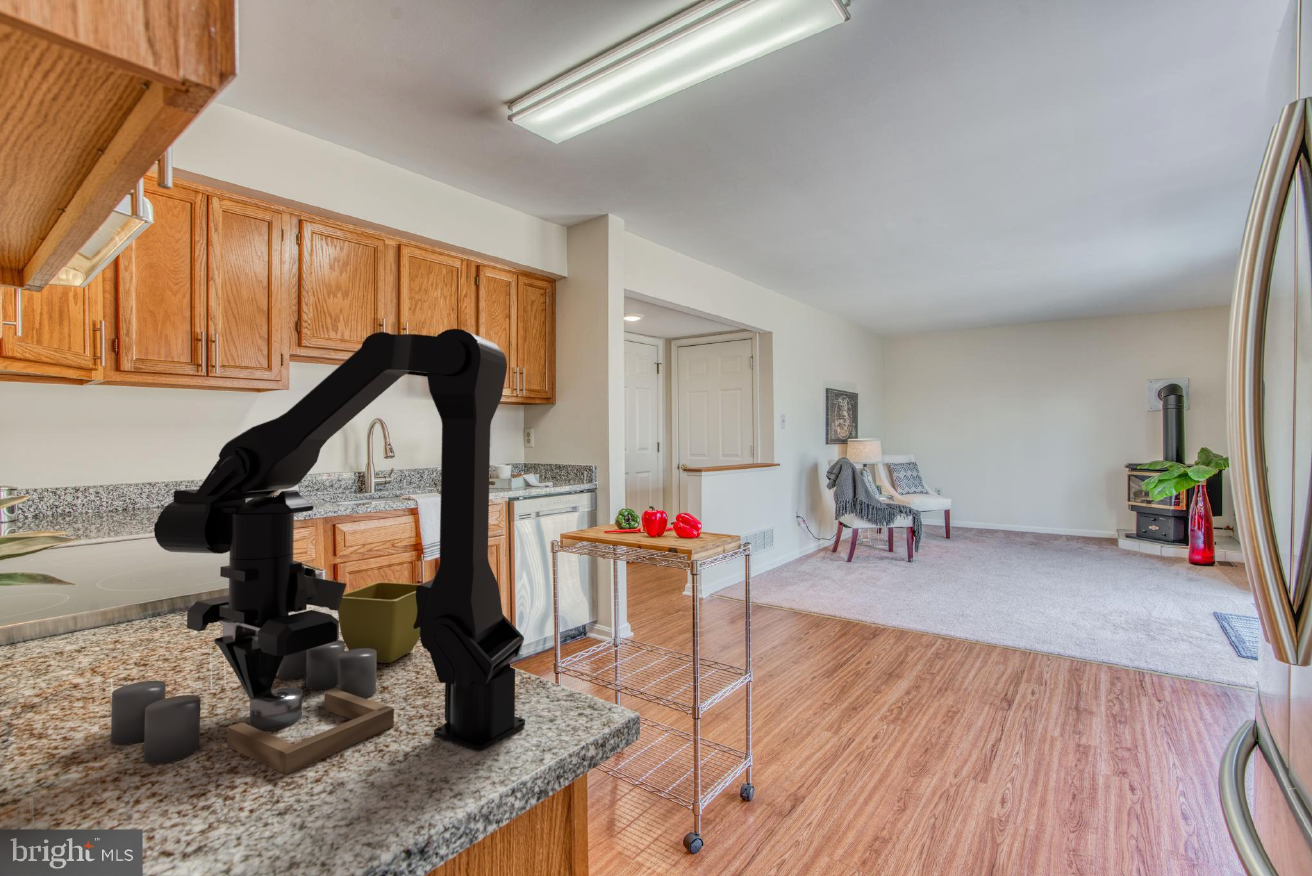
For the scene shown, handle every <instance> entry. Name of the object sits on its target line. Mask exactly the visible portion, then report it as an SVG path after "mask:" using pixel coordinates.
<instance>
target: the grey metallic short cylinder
mask: <svg viewBox="0 0 1312 876" xmlns="http://www.w3.org/2000/svg"><path fill="white" fill-rule="evenodd" d="M302 718H303V689H301V688H298V687H293V686H292V687H278V688H273V689H272V688H271V690H268V691H265V692H262V693H260V694H257V695H255V696H254V697H252V698H251V700H250V699H249V723H248V725H250V726H252V727H254V728H257V729H259V730H261V731H263V732H268V731H269V732H270V731H275V730H279V729H283V728H286V727H290V726H292V725H294V724H296V723H298V722H299V721H301V719H302Z"/></svg>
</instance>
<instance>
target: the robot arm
mask: <svg viewBox="0 0 1312 876" xmlns="http://www.w3.org/2000/svg"><path fill="white" fill-rule="evenodd" d="M507 371H508V362H507V358H506V355H505V353H504V352H503V351H502V349H501V348H500V347H499V346H498V345H497V343H494V342H492V341H491V340H488V339H486V338H484V337H480V336H479V335H477V334H474V333H472V332H470V331H467V330H465V329H461V328H449V329H446V330H444V331H442V332H440V333H438V334H437V335H426V334H416V333H402V334H401V333H400V334H398V333H397V334H392V333H389V332H385V331H379V332H375V333H372V334H370V335H368V336H366V338H365V339H364V340H363V341H362V343H361V347H360V348H358V349H357V350H356V351H355V352H354V353H353V354H351V356H349V357H348V358H347V359H346V360H345V361H343V362H342V363H341V364H340V365H338V367H337V368H335V369H334V370H333V371H332V372H331V373H329V375H327V376H326V377H325V378H324V379H323V380H321V381H320V382H319V383H318V384H317V385H316V386H314V388H312V389H311V390H310V391H309V392H308V393H307V394H305V395H304V396H303V397H302V398H301V399H300V400H299V401H297V403H295V404H294V405H292V407H291V408H289V410H287V411H286V412H284V413H283V414H281V415H280V416H278V417H275V418H274V419H271V420H268V421H265V422H263V423H260V424H257V425H254V426H252V427H250V428H249V429H247V430H245V431H243V432H242V433H240V434H238V435H237V436H235V437H234V438H233V437H232V439H230V440H228V441H227V442H226V443H225V444H224V445H223V446H222V447H221V449H220V452H219V453H218V458H219V459H218V460H217V461H216V463H215V464H214V466H213V467H212V469H211V470H210V471H209V473H208V475H207V476H206V477H205V479H204V480H203V482H202V483H201V485H200V486H199V487H198V489H197V488H196V489H194V488H190V489H176V490H174V491H173V501H171V502H170V503H169V504H166V506H165V507H164V508H163V509H162V510H161V512H160V513H159V515H158V517H157V520H156V521H155V522H154V523H153V525H154V526H153V532H154V533H153V534H154V537H155V540H156V542H157V544H158V545H159V546H160V547H161V548H162V549H164V550H165V551H168V552H170V553H189V554H191V553H192V554H195V553H196V554H215V555H216V554H218V555H219V554H220V555H223V554H226V553H228V552H229V558H228V559H229V560H228V561H229V562H228V564H229V565H225V566H220V571H219V572H220V576H219V577H221V578H225V579H228V595H223V596H222V595H221V596H217V597H212V598H206V599H201V600H196V602H194V604H192V605H191V607H189V609H187V611H186V616H187V617H186V629H189V630H192V631H196V632H203V631H205V630H206V628H208V625H209V624H214V623H215V624H216V623H219V624H221V625H222V636H219V637H217V638H214V639H213V643H214V644H215V645H216V646H218V648H219V650H220V651H221V652H222V655H223V656H224V658H225V659H226V661H227V662H228V664H229V666H230V667H231V668H232V671H233V672H234V675H236V677H237V678H238V681H239V683H240V684H241V686H242V688H243V689H244V692H245V694H246V695H247V696H248V698H249V701H250V700H251V698H252V697H254V696H255V695H257V694H260V693H262V692H265V691H268V690H272V688H273V685H274V682H275V681H276V677H277V673H278V669H279V667H280V664H281V662H282V660H283V658H284V656H287V655H290V654H294V653H297V652H301V651H304V650H308V649H311V648H315V647H318V646H322V645H325V644H329V643H332V642H336V641H337V640H340V624H339V619H337V618H336V617H335V616H334V615H332V614H330V613H326V612H322V611H318V610H313V609H310V610H309V609H308V610H307V608H308V607H307V605H308V606H314V607H319V608H328V610H329V611H335V612H336V611H337V612H338V609H339V606H340V603H341V600H342V597H343V594H345V590H346V588H347V583H345V582H340V581H335V580H329V579H324V578H319V577H317V572H316V569H315V568H311V567H306V566H305V565H304V564H303V562H301V561H294V536H295V534H294V530H295V525H294V522H295V514H299V513H300V514H301V513H306V512H312V511H313V510H314V505H313V504H312V503H311V502H310V501H309V500H307V499H306V498H304V497H303V496H302V495H301V494H300V493H299V491H298V490H297V489H292V488H294V487H296V486H297V485H299V484H300V483H301V482H302V480H303V479H305V477H306V476H307V475H308V474H309V472H310V471H311V469H312V468H313V467H314V466H315V465H316V463H317V462H318V460H319V457H320V452H321V449H322V447H324V445H325V444H326V443H327V442H328V440H330V439H331V438H332V437H333V436H335V434H336V433H338V432H339V431H340V430H341V429H342V428H344V426H346V425H347V424H348V423H350V421H352V420H353V419H354V418H356V416H358V414H360V413H361V412H362V411H363V410H365V409H366V408H367V407H368V406H369V405H370V404H371V403H372V402H374V400H376V399H377V398H379V396H381V395H382V394H383V393H385V391H386V390H388V389H389V388H390V387H392V386H393V385H394V384H395V383H396V382H397V381H398V380H399V379H400V378H401V377H403V376H404V377H405V375H409V376H410V375H411V376H418V377H424V378H427V384H428V390H429V394H430V396H431V399H432V401H433V404H434V406H435V408H436V410H437V412H438V416H439V417H440V421H441V453H440V454H441V458H440V460H441V461H440V462H441V464H440V466H441V467H440V470H441V471H440V507H439V508H440V512H439V513H440V515H439V516H440V517H439V520H440V521H439V558H438V559H439V560H438V561H439V562H438V567H437V570H436V572H435V574H434V577H433V578H432V579H430V580H428V581H425V582H423V583H420V585H418V586H417V587H416V603H417V617H416V621H415V623H414V626H413V628H414V629H417V628H419V627H420V638H419V639H420V643H421V646H422V648H423V649H425V650H426V651H427V653H429V655H430V657H431V661H432V663H433V667H434V670H435V673H436V674H435V675H436V676H437V679H438V682H439V683H442V684H445V685H444V686H445V687H444V689H445V691H444V722H446V723H443V724H442V725H440V726H438V727H436V728H434V729H433V735H434V736H435V737H438V738H440V739H443V740H447V741H449V742H451V743H455V744H458V745H460V746H464V747H466V748H469V749H472V750H475V751H482V750H485V749H487V748H488V747H490V746H492V745H493V744H495V743H497V742H498V741H500V740H503V739H504V738H505V737H508V736H510V734H512V733H515V732H516V731H518V730H520V729H521V728H523V727H525V725H526V719H525V718H523V717H518V716H515V715H516V712H515V711H516V668H515V667H511V663H510V662H511V661H512V660H513V659H514V658H517V657H518V656H519V655H520V652H521V650H522V646H523V644H524V641H525V637H524V635H522V633H521V632H520V631H519V630H518V629H517V628H516V627H515V625H514V624H513V623H512V622H511V621H510V620H509V619H508V618H507V617H506V616H505V615H504V613H503V608H502V607H503V606H502V599H501V594H500V592H501V591H500V586H499V584H498V581H497V578H496V577H495V574H494V572H493V569H492V567H491V564H490V561H489V518H490V514H489V513H490V512H489V511H490V510H489V509H490V468H491V467H490V460H491V455H490V454H491V427H492V426H491V425H492V422H493V418H494V417H495V413H496V412H497V409H498V408H499V405H500V402H501V401H502V397H503V392H504V389H505V388H504V387H505V382H506V376H507ZM291 489H292V490H291ZM279 490H280V492H279ZM281 490H282V491H281ZM277 492H279V493H278V495H277V496H273V495H274V494H275V493H277ZM247 499H248V500H247ZM246 500H247V501H246ZM290 613H292V614H290Z"/></svg>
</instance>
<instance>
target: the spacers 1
mask: <svg viewBox="0 0 1312 876" xmlns="http://www.w3.org/2000/svg"><path fill="white" fill-rule="evenodd" d="M166 687H167V686H166V682H165V681H162V680H144V681H138V682H134V683H130V684H127V685H123V686H121V687H118V688H116V689H114V690H113V691H112V692H111V715H110V717H111V719H110V721H111V722H110V726H111V727H110V743H111V744H113V745H116V746H117V745H118V746H121V745H122V746H123V745H124V746H125V745H133V744H137V743H141V742H143V743H144V745H143V761H144V763H145V764H148V765H164V764H169V763H174V762H178V761H180V760H181V761H182V759H183V760H184V759H185V758H188V757H191V756H192V755H194V754H195V753H197V752H198V751H199V749H200V742H201V741H200V740H201V705H202V704H201V697H200V696H199V695H196V694H181V695H175V696H171V697H170V696H169V697H167V698H166V691H167V690H166Z"/></svg>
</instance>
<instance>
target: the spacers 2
mask: <svg viewBox="0 0 1312 876" xmlns="http://www.w3.org/2000/svg"><path fill="white" fill-rule="evenodd" d="M345 650H346V644H345V642H344V640H340V639H338V640H337V641H336V642H332V643H329V644H325V645H322V646H318V647H315V648H311V649H308V650H304V651H301V652H297V653H294V654H290V655H287V656H284V658H283V660H282V662H281V664H280V667H279V669H278V672H277V675H276V677H277V678H278V679H279V680H284V681H285V680H286V681H287V680H291V681H292V680H298V679H303V678H305V688H307V689H308V690H313V691H319V690H327V689H331V688H334V687H337V688H336V689H337V690H340V691H343V692H346V693H349V694H352V695H355V696H358V697H361V698H364V699H367V698H369V697H372V696H373V695H374V694H375V693H376V692H377V662H376V657H377V651H376V650H374V649H370V648H360V649H353V650H349V649H348V650H346V651H345Z"/></svg>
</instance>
